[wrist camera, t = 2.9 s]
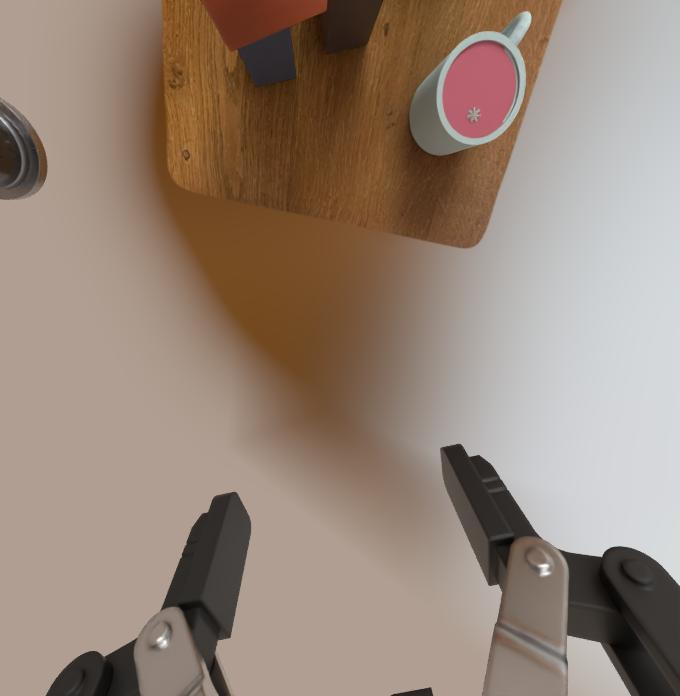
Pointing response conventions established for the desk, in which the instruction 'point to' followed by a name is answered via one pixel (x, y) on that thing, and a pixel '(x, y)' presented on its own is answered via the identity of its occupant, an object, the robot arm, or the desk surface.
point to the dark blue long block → (270, 58)
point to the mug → (471, 92)
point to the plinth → (348, 23)
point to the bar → (258, 17)
